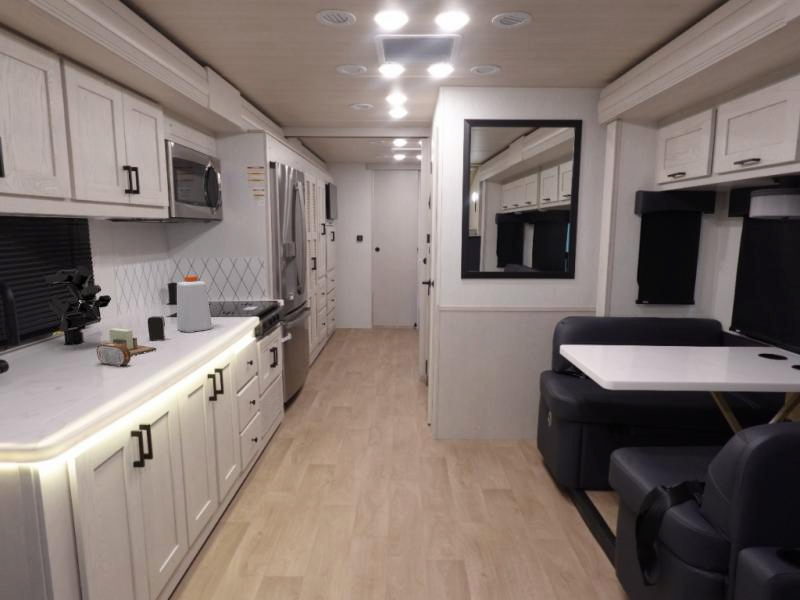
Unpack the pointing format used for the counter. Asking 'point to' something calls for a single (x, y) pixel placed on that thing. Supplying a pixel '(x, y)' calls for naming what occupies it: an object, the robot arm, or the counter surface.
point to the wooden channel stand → (137, 348)
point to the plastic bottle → (192, 306)
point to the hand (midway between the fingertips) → (97, 317)
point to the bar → (122, 336)
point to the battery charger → (156, 328)
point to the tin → (113, 354)
